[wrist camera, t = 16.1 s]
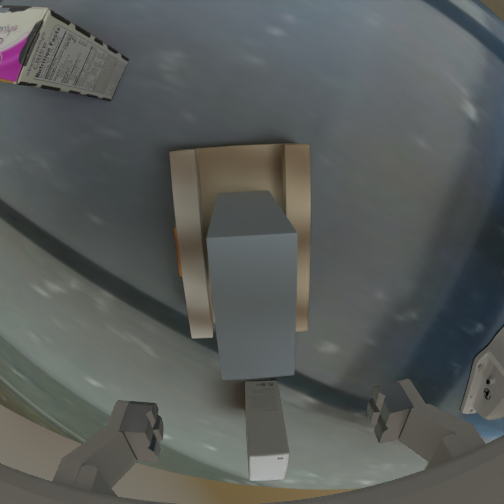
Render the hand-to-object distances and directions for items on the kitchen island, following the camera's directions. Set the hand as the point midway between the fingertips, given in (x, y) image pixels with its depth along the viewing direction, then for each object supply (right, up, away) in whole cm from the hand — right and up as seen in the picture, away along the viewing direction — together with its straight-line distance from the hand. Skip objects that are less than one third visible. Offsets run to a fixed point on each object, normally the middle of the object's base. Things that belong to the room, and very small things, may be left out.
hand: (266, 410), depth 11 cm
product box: (-1, +7, +19) cm, 20 cm away
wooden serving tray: (-1, +8, +21) cm, 23 cm away
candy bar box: (-18, +24, +15) cm, 34 cm away
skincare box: (+1, -13, +29) cm, 32 cm away
